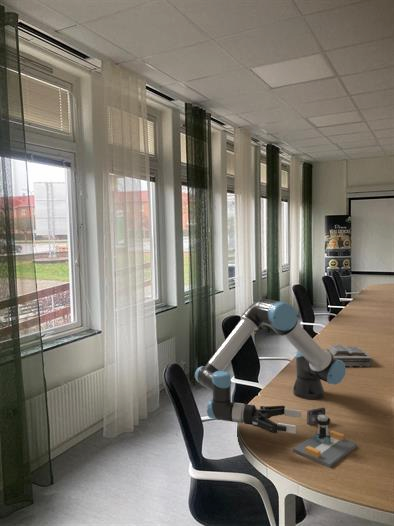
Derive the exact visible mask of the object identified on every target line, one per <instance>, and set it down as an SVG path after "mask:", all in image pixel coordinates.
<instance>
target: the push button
mask: <svg viewBox="0 0 394 526" xmlns="http://www.w3.org/2000/svg"><path fill="white" fill-rule="evenodd" d="M330 422H331V418H330V417H328V415H326V414H325V415H318V417H316V423H317V424H316V425H317V433H318V434H317V436H316V438H317V442H320V443H323V444H324V443H325V444H329V443H334V442H331V441H330V440H332V441H334V440H333V439H330V435H329V434H328V433H329V425H330Z"/></svg>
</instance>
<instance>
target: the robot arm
mask: <svg viewBox="0 0 394 526" xmlns="http://www.w3.org/2000/svg"><path fill="white" fill-rule="evenodd" d="M297 314H298V313H297V310H296V309H295V307H294V306H293V305H292V304H290V303H287V302H285V301H281V300H280V301H277V300H273V299H270V298H262V299H258V300H256V301H255V302H252V304H251V305H249V306H248V308H247V309H245V310H244V312H243V313H242V314H241V315H240V320H239V321H238V323H237V324H236V325H235V327H234V328H233V329H232V331H231V332H230V334H229V335H228V336H227V337H226V339H225V340H224V341H223V342H222V344H221V345H220V346H219V347H218V349H217V350H216V351H215V353H214V354H213V355H212V356H211V358H210V359H209V360H208V362H207V363H206V364H205V366H203V365H201V366H199V367H198V368H196V369H195V372H194V378H195V380H196V381H197V383H198V384H199V385H201V386H203V387H205V388H206V389H207V390H209V391H211V392H212V398H211V399H210V400H208V403H207V406H206V407H207V408H206V414H207V416H208V417H209V418H210V419H213V420H218V421H224V422H232V423H237V424H245V425H249V426H253V427H255V428H256V427H257V428H259V429H262V430H263V431H266V432H268V433H271V434H278V432H284V433H291V434H297V425H294V424H288V423H282V422H278V423H276V422H275V421H273V420H272V419H271V418H272V417H277V416H283V415H284V417H289V418H290V417H292V418H299V419H301V418H302V410H298V409H292V408H291V409H290V408H286V406H285V405H269V406H265V405H263V406H262V405H260V406H259V409H258V408H257V407H256V405H255V404H254V405H253V404H249V403H246V404H245V403H241V402H232V395H231V392H232V385H231V384H232V381H231V375H230V373H229V371H224V370H226V367H227V366H228V365H229V364H230V362H231V361H233V359H234V357H235V356H236V354H237V353H238V352H239V350H240V349H242V346H244V344H245V343H246V342H247V340H248V339H249V338H250V337H251V335H252V334H253V332H254V331H257V330H259V328H260V327H261V326H263V325H264V326H268V327H269V328H271V329H272V330H273V331H274V332H275V333H276V334H277V335H278V336H280V337H282V336H283V337H284V338H285V339H286V340H287V341H289V343H290V344H291V345H292V346H293V347H294V348H295V349H296V350H297V351H296V357H295V360H296V361H295V362H296V364H295V365H296V379H295V381H294V384H293V387H292V388H293V389H292V391H293V394H294V396H295V397H297V398H301V399H305V400H316V399H322V398H323V397H324V396H325V389H324V387H323V383H322V381H324V382H326V383H328V384H331V385H334V386H335V385H338V384H340V383H341V382H342V381H343V380H344V378H345V375H346V372H347V370H346V369H347V366H346V367H345V364H344V362H342V361H341V360H337V359H336V358H334V357H333V356H332V355H331V353H330V352H329V351H327V350H323V349H322V348H321V346H320V345H319V344H318V343H317V342H316V341H315V340H314V338H312V336H311V335H309V333H308V332H307V331H306V330H305V329H304V328H303V327H302V325H301V324H299V319H298V316H297ZM208 417H207V418H208Z"/></svg>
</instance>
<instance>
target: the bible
mask: <svg viewBox="0 0 394 526" xmlns="http://www.w3.org/2000/svg"><path fill="white" fill-rule="evenodd" d="M322 350H327V351H329V352H330V353H331V355H332V356H333V357H334V358H336V359H337V360H341V361H342V362H344V364H345V366H346V367H347V366H356V367H357V366H371V367H372V357H371V356H370V355H369V354H367V353H366V352H365V351H364V350H363V349H361V348H358V347H357V346H343V345H341V344H340V345H339V344H338V345H335V344H334V345H330V347H329V348H323V349H322Z"/></svg>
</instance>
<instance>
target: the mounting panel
mask: <svg viewBox="0 0 394 526" xmlns="http://www.w3.org/2000/svg"><path fill="white" fill-rule="evenodd" d="M317 434H318V432H317V433H315V434H313V435H311V436H310V437H309V438H307V439H306V440H304V441H302V442H300V443H299V444H298V445H296V446H293V448H292V452H293V453H296V454H298V455H299V456H302V457H304V458H307V459H309V460H312V461H314V462H316V463H319V464H320V465H322V466H326V467H327V468H328V469H331V467H333V466H334V465H335V464H336V463H338V462H339V461H341V460H342V459H343V458H345V457H346V455H349V453H351V452H352V451H354V450H355V449H356V448H357V447H358V443H356V442H353V441H351V440H348V439H346V438H345V434H343V433H341V432H338V431H335V430H332V429H331V430H330V431H328V434H329V435H330V439H333V440H334V441H332V440H330V441H331V442H334V443H329V444H325V443H324V444H323V443H320V442H317V438H316V436H317Z"/></svg>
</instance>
